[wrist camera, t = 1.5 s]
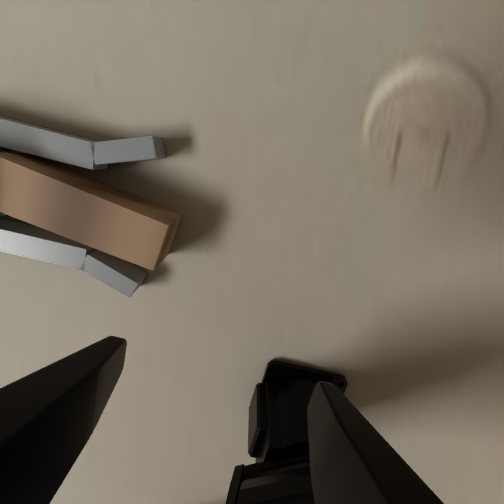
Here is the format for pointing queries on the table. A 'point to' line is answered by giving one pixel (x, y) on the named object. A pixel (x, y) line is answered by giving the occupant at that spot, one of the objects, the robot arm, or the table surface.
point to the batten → (85, 209)
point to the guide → (84, 155)
